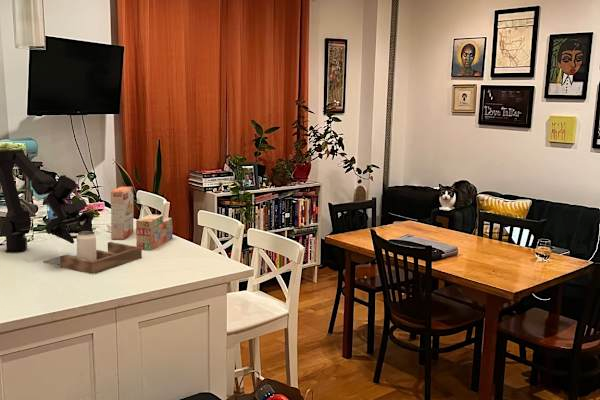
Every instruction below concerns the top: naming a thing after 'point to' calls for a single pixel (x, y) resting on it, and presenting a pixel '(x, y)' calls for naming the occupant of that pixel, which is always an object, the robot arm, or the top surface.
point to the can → (86, 245)
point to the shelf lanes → (103, 258)
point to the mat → (57, 260)
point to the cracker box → (121, 212)
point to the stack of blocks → (153, 231)
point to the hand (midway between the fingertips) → (83, 240)
